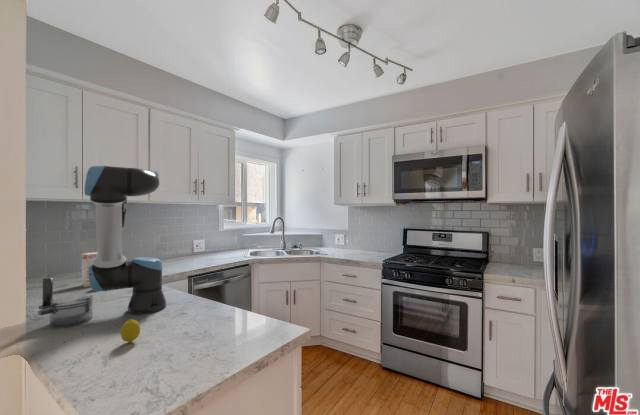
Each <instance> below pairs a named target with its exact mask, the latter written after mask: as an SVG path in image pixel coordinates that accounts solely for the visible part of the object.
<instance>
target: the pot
mask: <svg viewBox="0 0 640 415" xmlns="http://www.w3.org/2000/svg"><path fill="white" fill-rule="evenodd" d="M93 302H94V298H93V299H92V300H90V301H87V302H84V303H80V304H76V305H70V306H61V307H51V308H47V309H39V310H38V313H37V315H39V316H45V315H49V327H50V328H51V329H64V328H66V329H67V328H70V327H71V328H72V327H76V326H79V325H82V324H85V323H88V322H90V321H91V320H92V319H93Z"/></svg>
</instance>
